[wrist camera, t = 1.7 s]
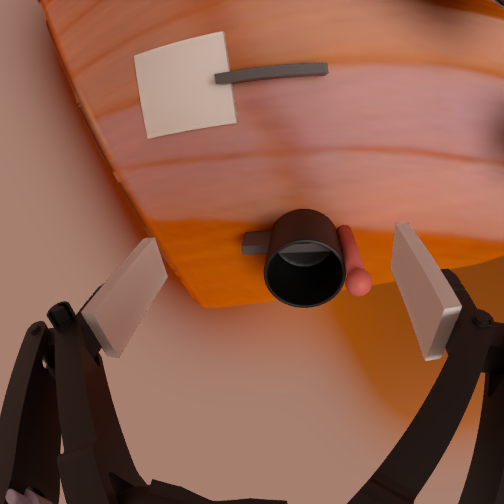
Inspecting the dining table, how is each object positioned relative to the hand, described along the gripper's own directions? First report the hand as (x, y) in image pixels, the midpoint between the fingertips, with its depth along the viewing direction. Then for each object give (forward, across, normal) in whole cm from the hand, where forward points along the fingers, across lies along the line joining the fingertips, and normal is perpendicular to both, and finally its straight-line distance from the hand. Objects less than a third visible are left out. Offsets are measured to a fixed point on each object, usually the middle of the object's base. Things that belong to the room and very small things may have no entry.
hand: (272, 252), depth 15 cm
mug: (+23, +2, -13) cm, 27 cm away
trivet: (+23, -11, +11) cm, 28 cm away
